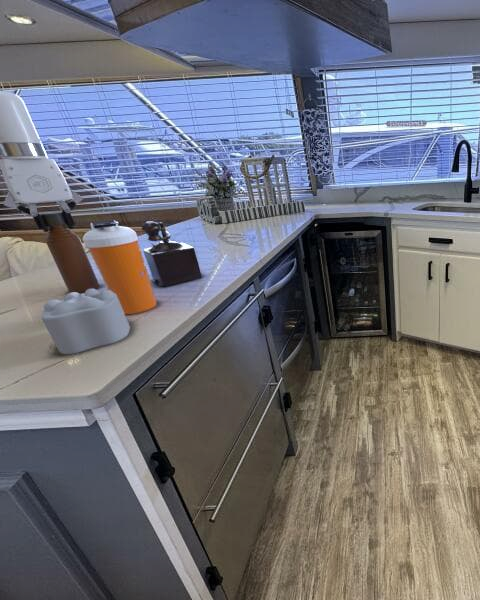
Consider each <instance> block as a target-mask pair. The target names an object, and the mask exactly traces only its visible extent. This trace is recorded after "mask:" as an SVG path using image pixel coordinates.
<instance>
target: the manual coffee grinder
mask: <svg viewBox="0 0 480 600" xmlns="http://www.w3.org/2000/svg"><path fill="white" fill-rule="evenodd" d="M141 230H142V232H143V233H145V234H146V235H147V236H148V237H147V241H150V242H151V243H150V244H151V245H152V246H151V247H148V248H144V249H142V250H143V256H144V258H145V260H146V263H147V265H148V267H149V271H150V274H151V277H152V281H153V282H152V283H154V284H156V285H158V286H159V287H170V286H175V285H178V284H183V283H188V282H191V281H194V280H199V279H202V273H201V268H200V264H199V261H198V258H197V254H196V250H195V247H194V246H191V245H189V244H187V243H184V242H177V241H173V240H170V239H171V237H172V235H171V234H170V232H168V231H167V230H166V227H165V224H164V223H163V222H161V221H160V222H155V221H146V222H144V223H143V224H142V226H141ZM160 232H161V235H160ZM152 242H154V243H155V242H157V243H156V244H153V243H152Z"/></svg>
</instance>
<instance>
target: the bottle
mask: <svg viewBox="0 0 480 600" xmlns="http://www.w3.org/2000/svg"><path fill="white" fill-rule="evenodd" d="M48 227H49V228H48V230H49V231H48V232H47V235H46V238H45V243H46V246H47V248H48V250H49V252H50V254H51V256H52V259H53V260H54V263H55V265H56V267H57V269H58V271H59V274H60V276H61V278H62V280H63V283H64V284H65V286H66V289H67V291H68V293H71V292H77V293H79V294H83V293H85V292H86V290H88V289H96V290H98V289H99V288H101V285H100V283H99V281H98V278H97V275H96V274H95V272H94V268H93V267H92V265H91V261H90V260H89V257H88V254H87V252H86V250H85V248H84V245H83V242H82V240H81V238H80V237H79V235H78V234H76V233H75V232H73V231H72V229H69V228H68V227H67V226H66V225H60V226H48Z"/></svg>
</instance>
